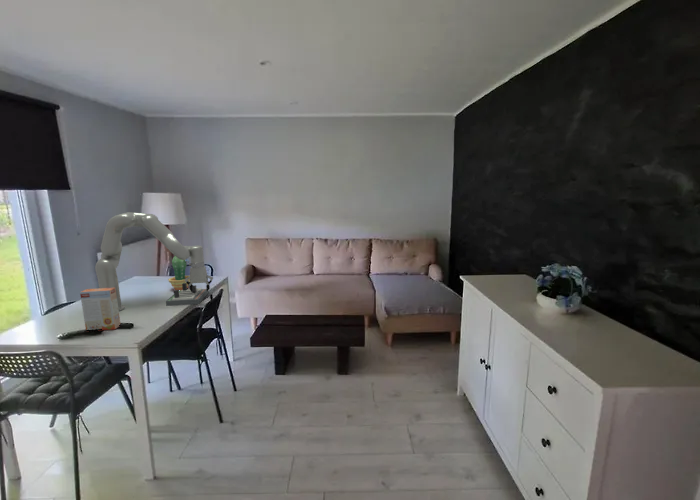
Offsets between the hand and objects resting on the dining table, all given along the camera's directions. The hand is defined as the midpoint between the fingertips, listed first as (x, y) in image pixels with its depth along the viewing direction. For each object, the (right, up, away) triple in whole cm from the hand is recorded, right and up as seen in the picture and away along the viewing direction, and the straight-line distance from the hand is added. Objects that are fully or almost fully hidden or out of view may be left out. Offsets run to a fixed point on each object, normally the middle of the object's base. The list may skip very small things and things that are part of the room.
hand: (200, 290), depth 228 cm
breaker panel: (-8, -5, 0) cm, 9 cm away
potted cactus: (-23, -2, +23) cm, 33 cm away
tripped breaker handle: (-3, -1, 0) cm, 3 cm away
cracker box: (-30, -14, -46) cm, 57 cm away
